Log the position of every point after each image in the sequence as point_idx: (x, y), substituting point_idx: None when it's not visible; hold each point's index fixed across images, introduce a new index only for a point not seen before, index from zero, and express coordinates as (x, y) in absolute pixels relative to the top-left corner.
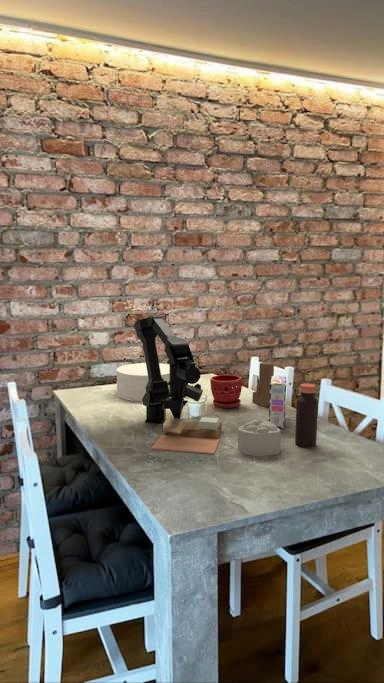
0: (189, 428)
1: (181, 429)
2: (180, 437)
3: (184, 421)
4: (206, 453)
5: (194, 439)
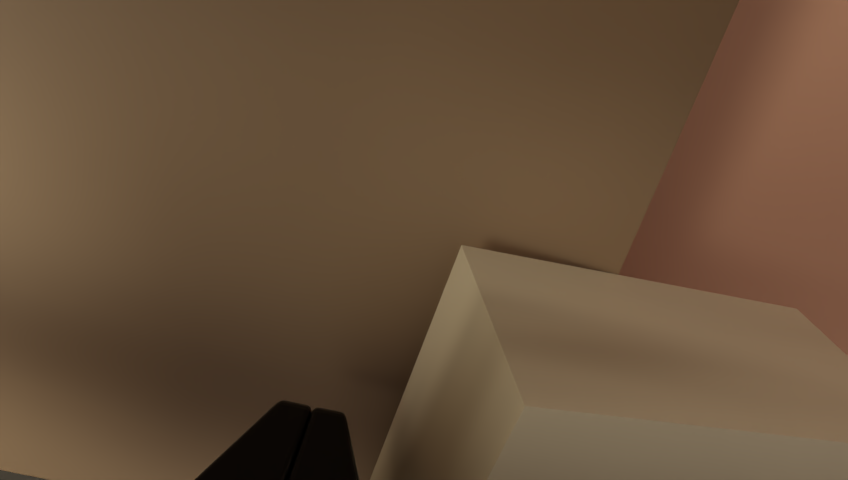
0: (606, 97)
1: (749, 326)
2: (679, 240)
3: (507, 342)
4: None
5: None
